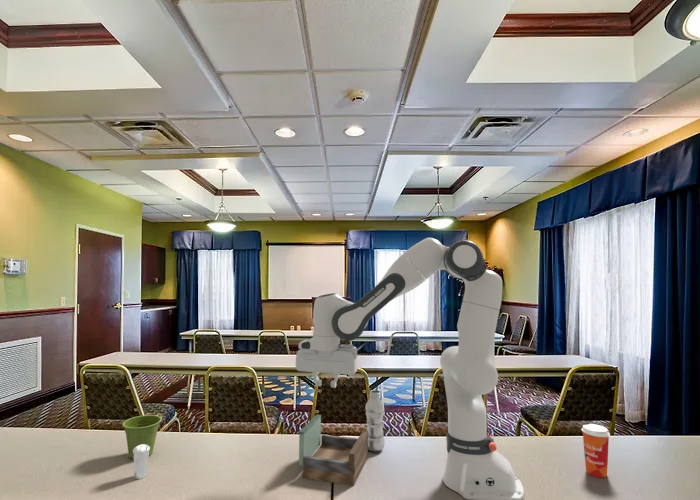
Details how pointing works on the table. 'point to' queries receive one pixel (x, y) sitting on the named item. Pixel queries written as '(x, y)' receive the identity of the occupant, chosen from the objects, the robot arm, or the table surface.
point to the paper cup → (596, 449)
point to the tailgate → (310, 438)
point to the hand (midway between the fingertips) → (325, 386)
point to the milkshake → (140, 460)
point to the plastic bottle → (375, 421)
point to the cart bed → (337, 459)
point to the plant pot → (141, 432)
